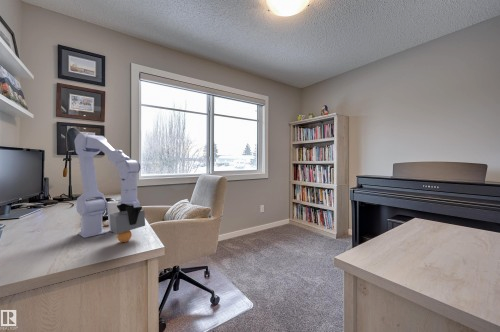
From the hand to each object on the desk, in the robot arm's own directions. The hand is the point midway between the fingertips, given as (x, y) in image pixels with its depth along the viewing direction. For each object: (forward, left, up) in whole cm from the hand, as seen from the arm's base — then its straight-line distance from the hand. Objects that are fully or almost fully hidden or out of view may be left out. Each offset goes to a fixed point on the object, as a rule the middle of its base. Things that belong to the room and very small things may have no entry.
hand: (129, 222), depth 86 cm
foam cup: (-18, +2, -7) cm, 19 cm away
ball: (0, -2, -5) cm, 5 cm away
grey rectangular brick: (0, 0, -2) cm, 2 cm away
